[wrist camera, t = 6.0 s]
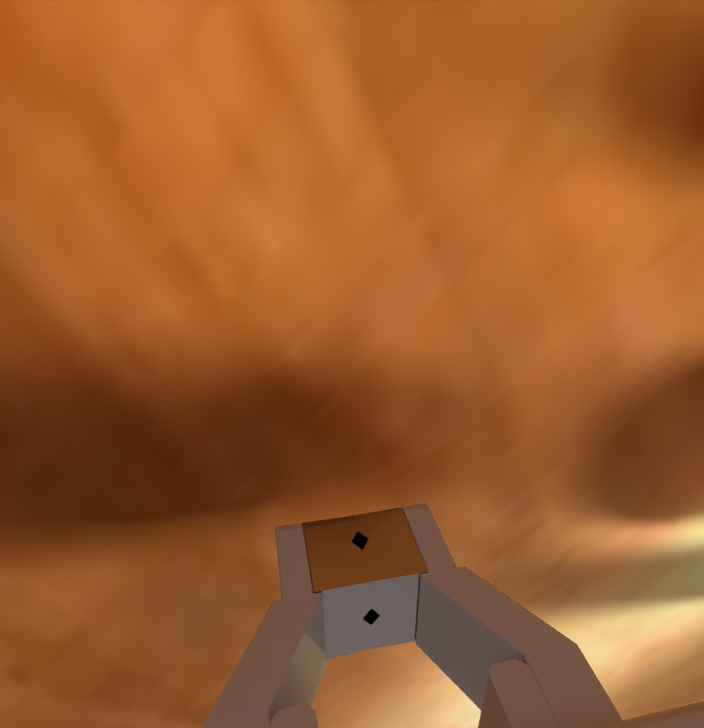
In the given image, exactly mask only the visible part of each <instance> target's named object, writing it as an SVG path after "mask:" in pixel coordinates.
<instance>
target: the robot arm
mask: <svg viewBox="0 0 704 728" xmlns="http://www.w3.org/2000/svg"><path fill="white" fill-rule="evenodd" d="M275 535H276V545H277V555H278V566H279V576H280V586H281V596H282V599H281V600H276V601H274V602H273V603H272V605H271V607H270V609H269V610H268V612H267V614H266V616H265V617H264V619H263V621H262V623H261V624H260V626H259V628H258V630H257V631H256V633H255V635H254V637H253V638H252V640H251V642H250V644H249V646H248V647H247V649H246V651H245V653H244V654H243V656H242V658H241V660H240V661H239V663H238V665H237V667H236V668H235V670H234V672H233V674H232V675H231V677H230V679H229V681H228V682H227V684H226V686H225V688H224V689H223V691H222V693H221V695H220V696H219V698H218V700H217V702H216V703H215V705H214V707H213V709H212V711H211V712H210V714H209V716H208V718H207V719H206V721H205V724H204V728H318V724H317V717H316V711H315V710H314V709H312V708H310V707H311V704H312V702H313V699H314V696H315V693H316V691H317V688H318V685H319V682H320V680H321V677H322V674H323V672H324V669H325V666H326V663H327V659H329V658H333V657H337V656H342V655H346V654H350V653H354V652H359V651H363V650H367V649H372V648H378V647H384V646H390V645H395V644H401V643H407V642H413V641H416V644H417V645H418V646H419V647H420V648H421V649H422V650H423V651H424V652H425V653H426V654H427V656H428V657H429V658H430V659H431V660H432V661H433V662H434V663H435V664H436V665H437V666H438V667H439V668H440V669H441V670H442V671H443V672H444V673H445V674H446V675H447V676H448V677H449V678H450V679H451V680H452V681H453V682H454V683H455V684H456V685H457V686H458V687H459V688H460V689H461V690H462V691H463V692H464V693H465V694H466V695H467V696H468V697H469V698H470V699H471V700H472V701H473V702H474V703H475V704H476V705H477V707H478V708H479V709H480V710H481V716H480V721H479V726H478V728H704V701H700V702H696V703H692V704H688V705H683V706H679V707H675V708H671V709H667V710H663V711H659V712H655V713H651V714H647V715H643V716H638V717H634V718H630V719H626V720H622V718H621V716H620V715H619V713H618V712H617V710H616V708H615V707H614V705H613V703H612V702H611V700H610V698H609V697H608V695H607V693H606V692H605V690H604V688H603V687H602V685H601V683H600V682H599V680H598V679H597V677H596V675H595V674H594V672H593V670H592V669H591V667H590V665H589V664H588V662H587V660H586V659H585V657H584V655H583V654H582V652H581V650H580V649H579V647H578V645H577V644H576V643H574V642H573V641H571V640H570V639H569V638H567V637H566V636H564V635H563V634H561V633H560V632H558V631H557V630H556V629H554V628H553V627H551V626H550V625H548V624H547V623H545V622H544V621H543V620H541V619H540V618H538V617H537V616H535V615H534V614H532V613H531V612H530V611H528V610H527V609H525V608H524V607H522V606H521V605H519V604H518V603H516V602H515V601H514V600H512V599H511V598H509V597H508V596H506V595H505V594H503V593H502V592H501V591H499V590H498V589H496V588H495V587H493V586H492V585H490V584H489V583H488V582H486V581H485V580H483V579H482V578H480V577H479V576H477V575H476V574H474V573H473V572H472V571H470V570H469V569H467V568H466V567H458V568H457V566H456V564H455V562H454V560H453V558H452V556H451V554H450V551H449V549H448V547H447V545H446V543H445V541H444V539H443V536H442V534H441V532H440V530H439V528H438V526H437V523H436V521H435V519H434V517H433V515H432V513H431V511H430V508H429V506H427V505H426V504H425V503H424V504H418V505H412V506H406V507H401V508H394V509H388V510H382V511H376V512H370V513H364V514H358V515H352V516H348V517H341V518H333V519H326V520H318V521H311V522H303V523H302V524H301V523H300V524H292V525H284V526H277V527H276V530H275Z"/></svg>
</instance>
